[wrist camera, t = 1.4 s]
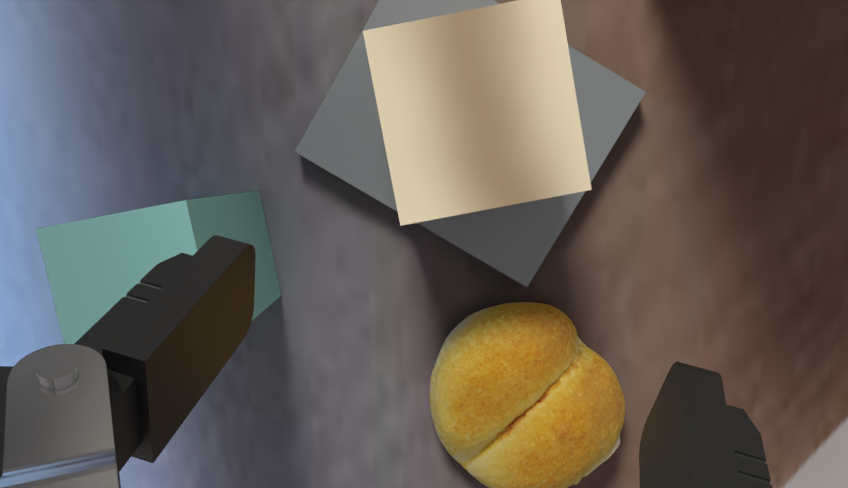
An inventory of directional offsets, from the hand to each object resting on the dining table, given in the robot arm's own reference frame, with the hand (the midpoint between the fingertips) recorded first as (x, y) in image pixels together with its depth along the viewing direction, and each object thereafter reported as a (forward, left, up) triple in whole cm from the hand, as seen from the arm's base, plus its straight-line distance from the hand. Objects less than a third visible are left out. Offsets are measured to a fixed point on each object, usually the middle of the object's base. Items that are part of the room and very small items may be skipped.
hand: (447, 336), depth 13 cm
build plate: (-1, +5, -20) cm, 20 cm away
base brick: (-1, +5, -19) cm, 19 cm away
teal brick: (-8, -6, -20) cm, 22 cm away
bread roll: (+7, -4, -20) cm, 22 cm away
